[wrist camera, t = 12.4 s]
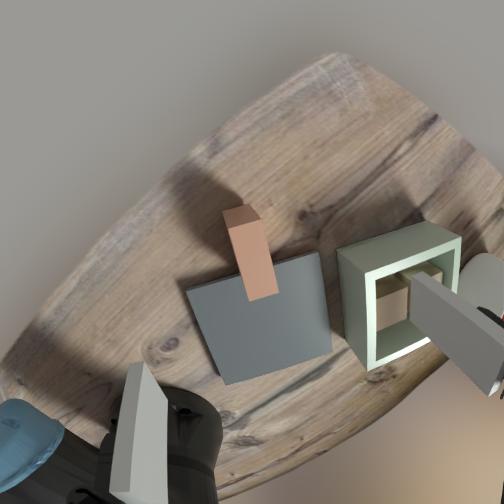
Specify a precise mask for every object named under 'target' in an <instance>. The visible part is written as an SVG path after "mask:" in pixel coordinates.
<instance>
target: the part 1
mask: <svg viewBox="0 0 504 504" xmlns="http://www.w3.org/2000/svg"><path fill="white" fill-rule="evenodd" d="M375 286H376V332H377V331H379V330H382V329H384V328H386V327H389V326H391V325H393V324H395V323H398V322H400V321H402V320H404V319H406V315H407V294H408V287H407V286H406V285H405V284H403V283H402V282H401V281H400V280H398V279H397V278H396V277H395V276H393V275H392V274H390V275H387V276H385V277H382V278H379V279H377V280H375Z"/></svg>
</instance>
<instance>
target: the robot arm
mask: <svg viewBox="0 0 504 504" xmlns="http://www.w3.org/2000/svg"><path fill="white" fill-rule="evenodd" d="M409 320H410V321H411V322H412V323H413V324H414V325H415V326H416V327H417V328H418V329H419V330H420V331H421V332H423V333H424V334H425V335H426V336H427V337H428V338H429V339H430V340H431V341H432V342H433V343H434V344H435V345H436V346H437V347H438V348H439V349H440V350H441V351H442V352H443V353H444V354H446V355H447V356H448V357H449V358H450V359H451V360H452V361H453V362H454V363H455V364H456V365H457V366H458V367H459V368H460V369H461V370H462V371H463V372H464V373H465V374H466V375H467V376H468V377H469V378H470V379H471V380H472V381H473V382H474V383H475V384H476V385H477V386H478V387H479V389H481V391H483V393H485V395H486V396H487V397H489V396H490V395H491V394H493V393H494V392H495V391H496V390H497V389H499V387H500V385H501V383H502V380H503V379H504V321H503V319H501V318H500V317H499V316H498V317H497V315H496V314H494V313H493V312H492V311H490V310H489V309H486V308H483V307H480V306H479V307H477V308H475V307H474V306H472V305H471V304H470V303H468V302H467V301H465V300H464V299H463V298H461V297H460V296H458V295H457V294H455V293H454V292H453V291H451V290H450V289H448V288H447V287H445V286H444V285H442V284H441V283H440V282H438V281H437V280H435V279H434V278H432V277H431V276H429V275H428V274H426V273H425V272H423V271H422V272H419V273H417V274H415V275H412V276H411V301H410V319H409ZM503 396H504V390H503V392H502V394H501V397H500V399H503ZM108 427H109V432H110V433H107V434H106V435H105V437H104V439H103V441H102V442H101V445H100V449H98V448H96V447H95V446H93V445H91V444H90V443H88V442H86V441H85V440H83V439H82V438H80V437H78V436H77V435H75V434H74V433H72V432H71V431H69V430H68V429H66V428H65V427H64V426H63V425H62V424H61V423H60V422H59V421H58V420H56V419H51V418H50V417H48V416H47V415H45V414H44V413H42V412H41V411H40V410H38V409H37V408H35V407H34V406H32V405H31V404H30V403H28V402H26V401H24V400H22V399H9V400H6V401H4V402H3V403H1V404H0V504H218V498H217V491H216V485H215V478H214V468H215V464H216V461H217V457H218V454H219V450H220V447H221V443H222V439H223V428H222V421H221V417H220V415H219V413H218V411H217V410H216V409H215V408H214V406H212V405H211V404H210V403H209V402H208V401H206V400H204V399H203V398H201V397H199V396H197V395H195V394H192V393H190V392H187V391H183V390H179V389H174V388H168V387H159V385H158V383H157V382H156V380H155V379H154V377H153V375H152V373H151V372H150V370H149V368H148V367H147V365H146V363H145V361H141V362H137V363H132V364H129V368H128V373H127V378H126V383H125V388H124V393H123V394H122V395H121V396H119V397H118V398H117V399H116V400H115V401H114V403H113V404H112V406H111V410H110V415H109V420H108ZM501 504H504V483H503V491H502V498H501Z"/></svg>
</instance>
